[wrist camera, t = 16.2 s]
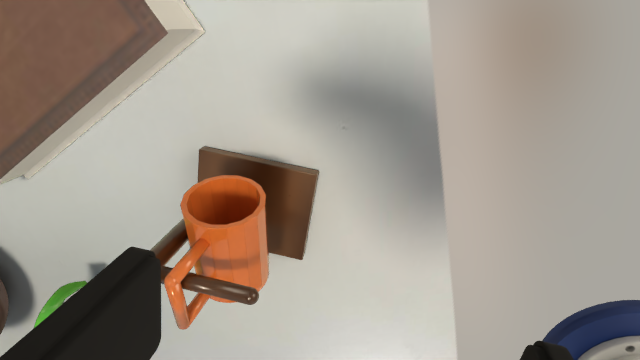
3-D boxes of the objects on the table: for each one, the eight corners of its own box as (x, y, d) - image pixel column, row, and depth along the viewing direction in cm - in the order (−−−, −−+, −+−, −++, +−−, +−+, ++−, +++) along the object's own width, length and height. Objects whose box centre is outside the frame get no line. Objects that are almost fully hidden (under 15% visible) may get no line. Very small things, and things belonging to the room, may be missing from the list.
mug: (222, 239, 39) (211, 167, 34) (280, 258, 38) (278, 186, 32) (150, 329, 31) (121, 254, 26) (220, 359, 30) (205, 284, 24)
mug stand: (319, 170, 38) (282, 252, 24) (304, 254, 42) (265, 366, 28) (204, 145, 39) (105, 211, 25) (199, 230, 43) (111, 327, 29)
